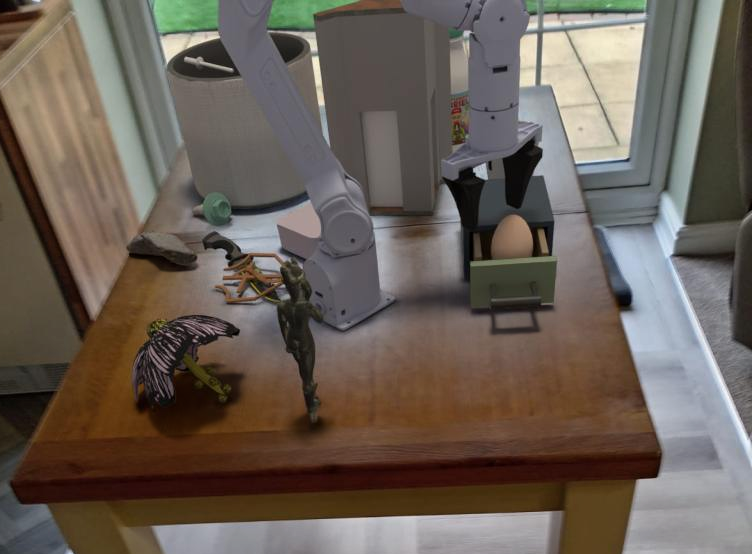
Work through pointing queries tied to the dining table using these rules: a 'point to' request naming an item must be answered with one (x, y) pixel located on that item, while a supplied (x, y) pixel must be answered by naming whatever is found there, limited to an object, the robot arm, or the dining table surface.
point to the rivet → (205, 64)
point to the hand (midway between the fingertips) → (491, 216)
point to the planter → (238, 125)
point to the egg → (512, 239)
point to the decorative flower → (177, 356)
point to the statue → (300, 328)
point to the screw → (214, 209)
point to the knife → (235, 257)
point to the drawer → (511, 274)
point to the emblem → (265, 278)
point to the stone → (162, 247)
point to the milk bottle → (458, 89)
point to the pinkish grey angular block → (300, 231)
